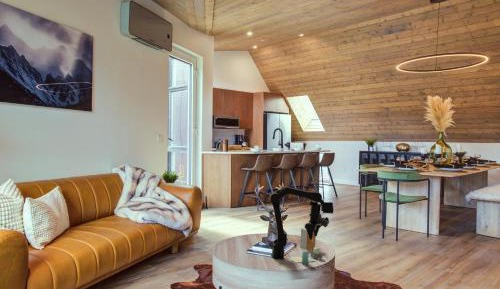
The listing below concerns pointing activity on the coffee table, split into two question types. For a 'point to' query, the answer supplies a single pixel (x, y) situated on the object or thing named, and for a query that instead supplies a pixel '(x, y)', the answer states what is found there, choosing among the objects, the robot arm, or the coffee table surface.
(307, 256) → the teal marker
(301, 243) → the small box
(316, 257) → the frame
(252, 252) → the coffee table surface
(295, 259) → the colouring sheet
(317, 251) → the button
